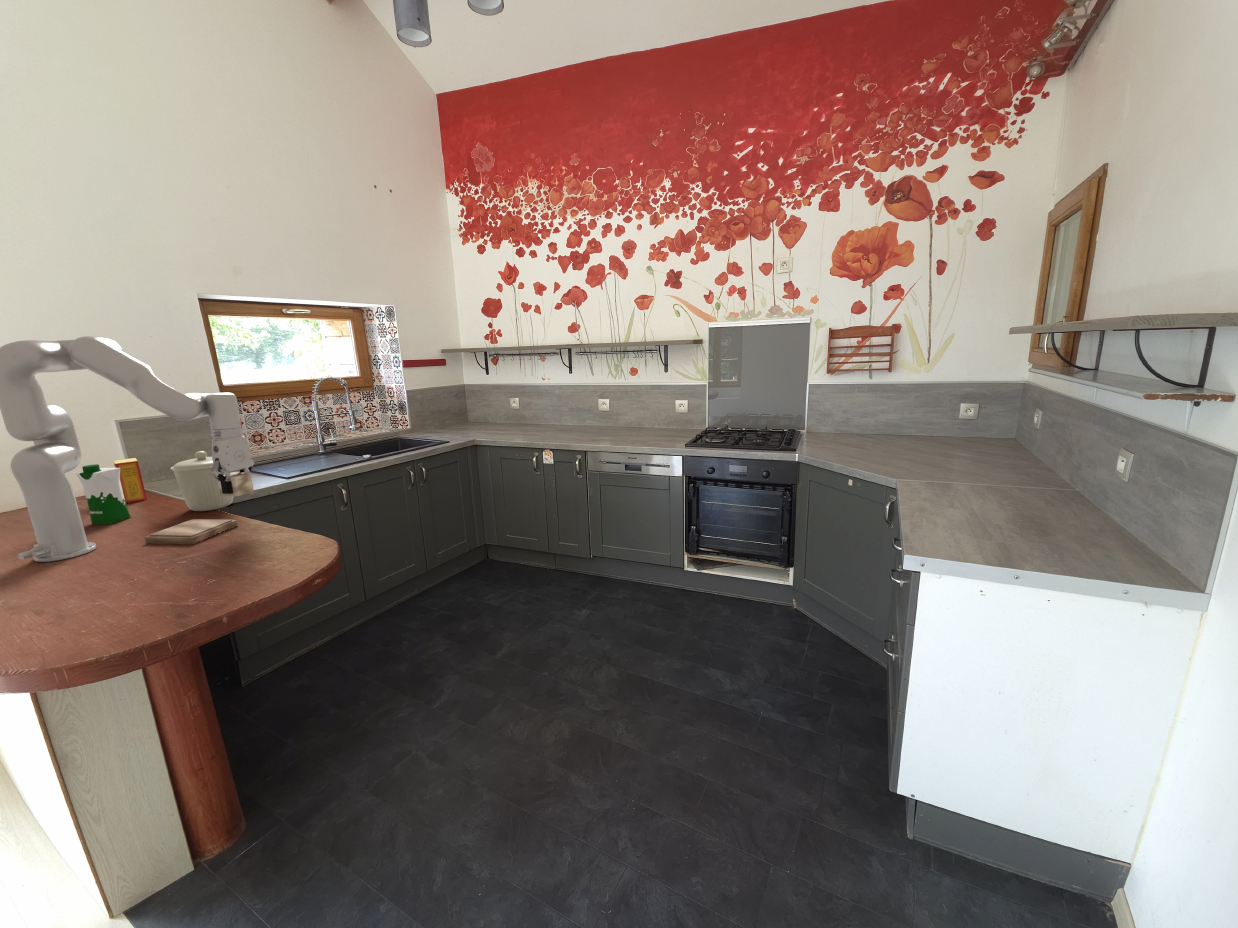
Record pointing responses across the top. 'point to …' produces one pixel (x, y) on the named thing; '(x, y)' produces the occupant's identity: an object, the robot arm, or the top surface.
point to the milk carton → (104, 494)
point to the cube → (239, 484)
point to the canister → (200, 484)
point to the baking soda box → (131, 480)
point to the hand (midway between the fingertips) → (237, 490)
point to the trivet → (190, 531)
